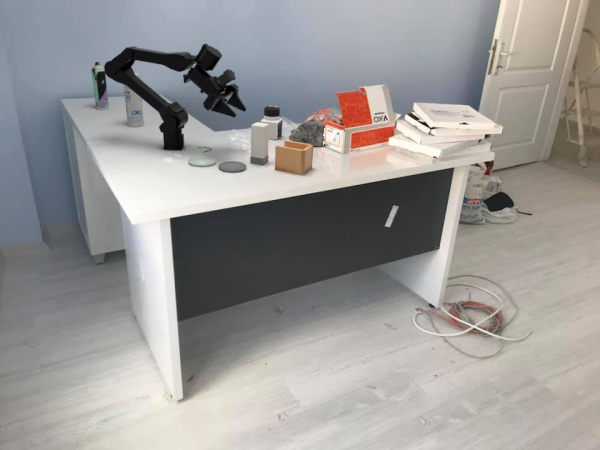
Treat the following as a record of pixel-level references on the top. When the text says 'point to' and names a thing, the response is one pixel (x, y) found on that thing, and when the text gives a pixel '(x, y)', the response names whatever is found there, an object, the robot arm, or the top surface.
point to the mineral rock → (309, 133)
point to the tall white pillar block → (259, 143)
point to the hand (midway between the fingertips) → (240, 113)
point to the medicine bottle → (273, 121)
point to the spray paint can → (133, 107)
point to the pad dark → (232, 166)
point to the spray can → (100, 87)
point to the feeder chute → (294, 157)
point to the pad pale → (202, 161)
